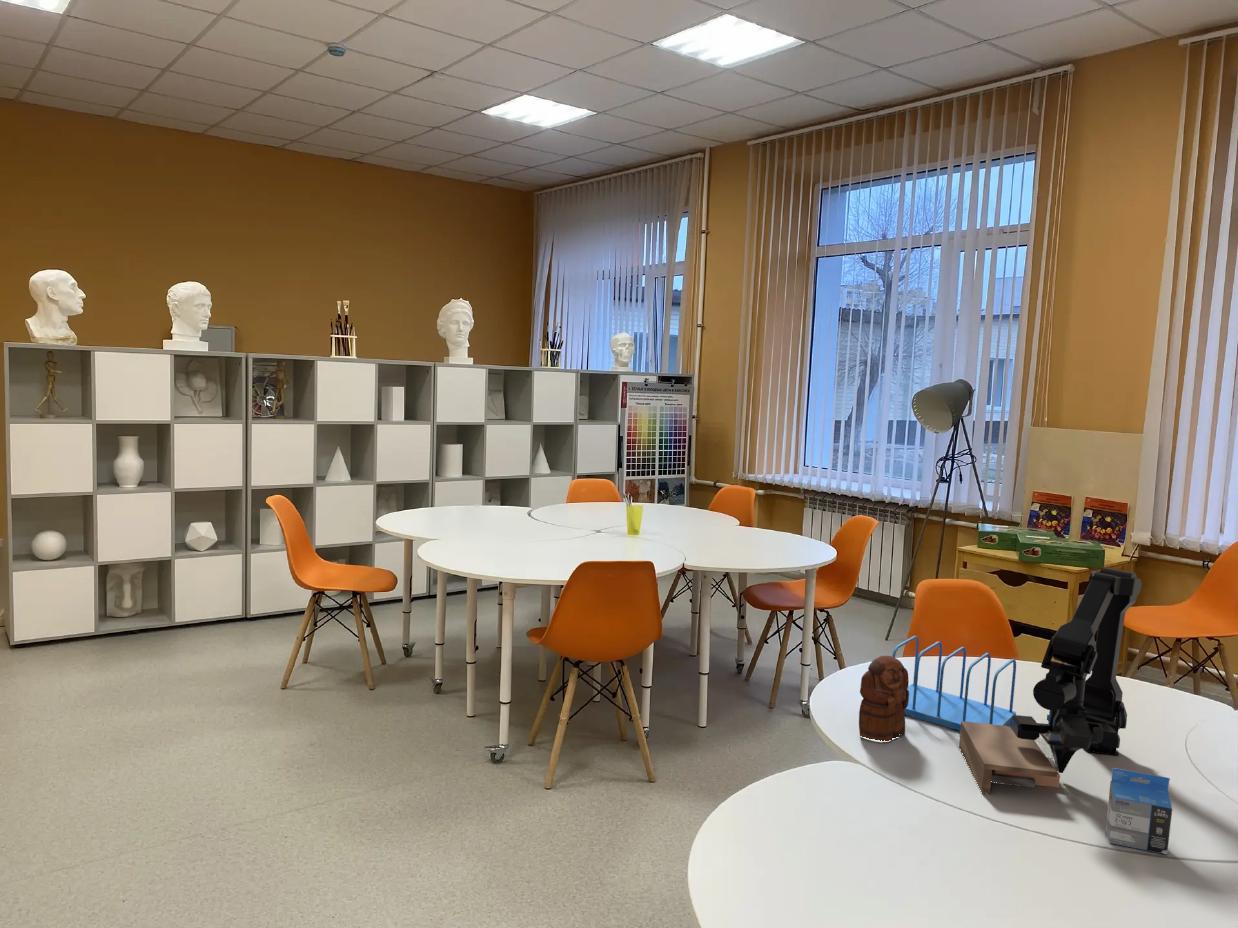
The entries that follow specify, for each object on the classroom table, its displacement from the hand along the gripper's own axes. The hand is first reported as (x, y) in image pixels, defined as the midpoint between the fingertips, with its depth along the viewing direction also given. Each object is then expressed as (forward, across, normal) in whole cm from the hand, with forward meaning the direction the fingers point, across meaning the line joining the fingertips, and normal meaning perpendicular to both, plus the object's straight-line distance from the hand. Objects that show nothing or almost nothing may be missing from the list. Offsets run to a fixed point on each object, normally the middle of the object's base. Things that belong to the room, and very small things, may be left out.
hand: (1059, 771), depth 169 cm
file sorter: (+2, -15, +29) cm, 33 cm away
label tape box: (+2, +5, -22) cm, 23 cm away
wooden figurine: (+2, -32, +12) cm, 35 cm away
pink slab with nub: (+2, -7, 0) cm, 7 cm away
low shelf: (+2, -10, 0) cm, 11 cm away
